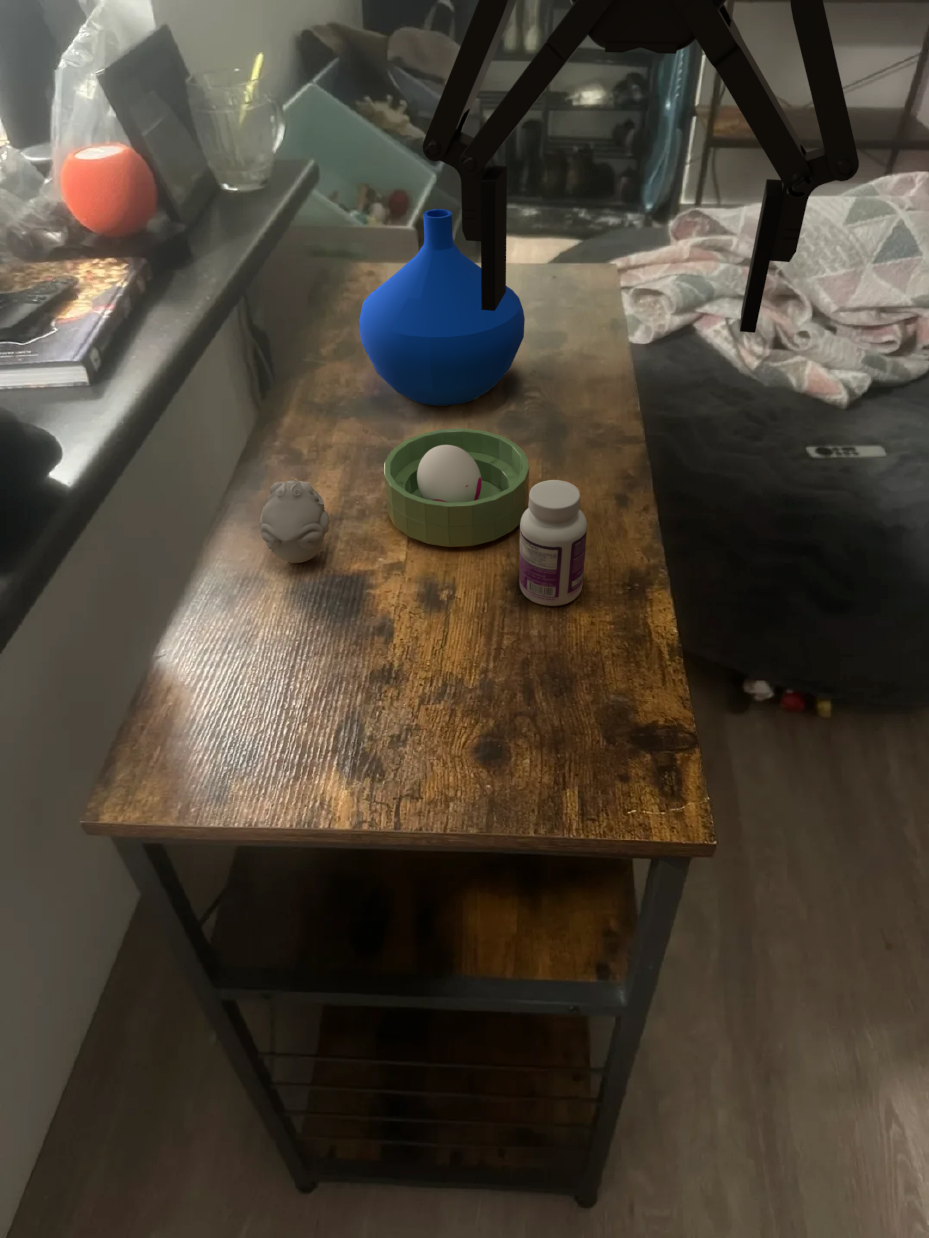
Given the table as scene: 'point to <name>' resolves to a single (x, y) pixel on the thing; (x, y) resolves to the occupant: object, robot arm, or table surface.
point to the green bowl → (459, 520)
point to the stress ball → (448, 475)
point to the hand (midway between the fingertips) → (617, 311)
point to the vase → (440, 324)
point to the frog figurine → (294, 521)
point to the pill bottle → (552, 544)
